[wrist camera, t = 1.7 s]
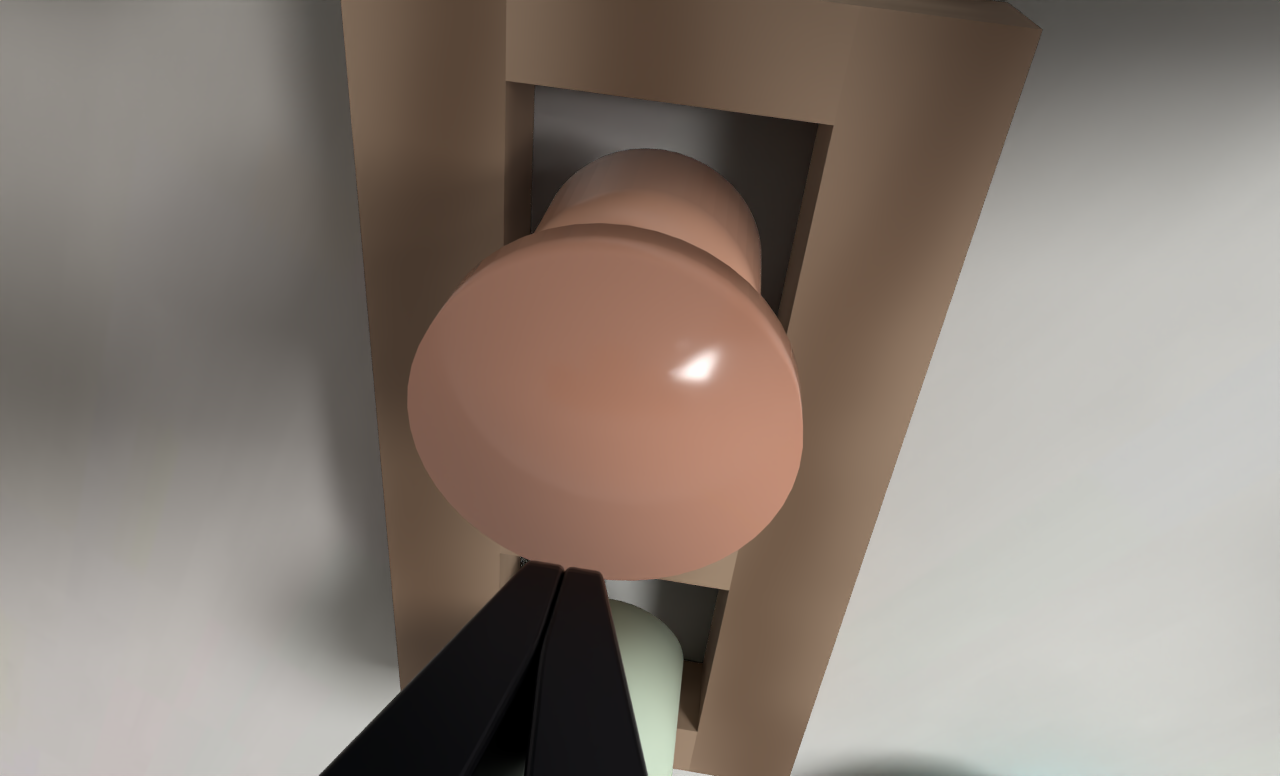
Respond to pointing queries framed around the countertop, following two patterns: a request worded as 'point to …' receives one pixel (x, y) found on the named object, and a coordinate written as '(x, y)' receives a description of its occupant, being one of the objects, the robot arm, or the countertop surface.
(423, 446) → the terracotta plunger
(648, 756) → the sage plunger
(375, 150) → the panel
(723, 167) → the countertop surface
